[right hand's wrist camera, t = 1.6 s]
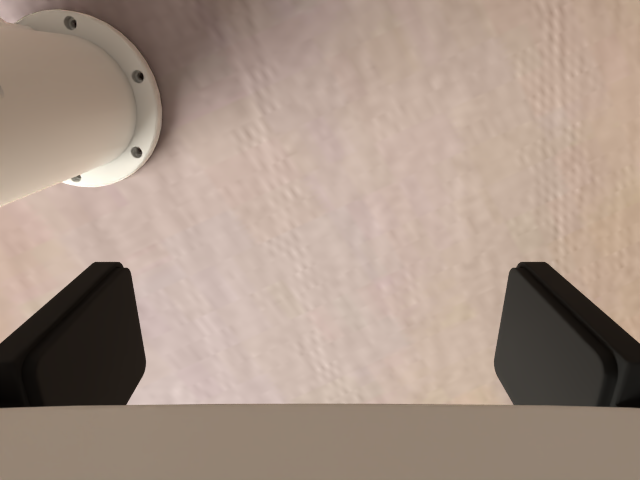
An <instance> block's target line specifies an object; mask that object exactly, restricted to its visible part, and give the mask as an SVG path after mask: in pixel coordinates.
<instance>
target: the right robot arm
mask: <svg viewBox="0 0 640 480" xmlns="http://www.w3.org/2000/svg"><path fill="white" fill-rule="evenodd" d="M75 21H76V24H77V25H76V27H75V25H74V23H75ZM141 73H143V76H144V79H143V80H142V79H141V78H140V74H141ZM161 126H162V105H161V98H160V93H159V89H158V86H157V83H156V80H155V77H154V75H153V73H152V71H151V69H150V67H149V66H148V64H147V62H146V60H145V59H144V57H143V56H142V55H141V53H140V52H139V51H138V49H137V48H136V47H135V45H134V44H132V43H131V42H130V41H129V40H128V39H127V38H126V37H125V36H124V35H123V34H122V33H121V32H119V31H118V30H116V29H115V28H113V27H112V26H111V25H109V24H108V23H106V22H104V21H102V20H99V19H97V18H95V17H93V16H90V15H87V14H83V13H79V12H75V11H68V10H60V9H54V10H43V11H39V12H36V13H33V14H30V15H27V16H25V17H23V18H22V19H20V20H18V21H17V22H15V23H14V24H12V23H7V22H6V21H4V20H3V19H2V18H0V207H2V206H4V205H7V204H9V203H12V202H14V201H16V200H19V199H21V198H24V197H26V196H29V195H31V194H34V193H36V192H39V191H41V190H44V189H46V188H48V187H51V186H53V185H56V184H58V183H61V182H63V183H66V184H71V185H75V186H80V187H99V186H105V185H110V184H113V183H115V182H118V181H120V180H123V179H125V178H127V177H128V176H130V175H132V174H134V173H135V172H136V171H137V170H138V169H139V168H141V167H142V166H143V165H144V164H145V162H146V161H147V160H148V159H149V157H150V156H151V155H152V153H153V151H154V149H155V146H156V144H157V142H158V139H159V135H160V131H161ZM139 148H140V149H141V150H142V153H140V152H139ZM80 175H81V176H80ZM145 367H146V358H145V352H144V346H143V340H142V335H141V329H140V323H139V317H138V311H137V306H136V300H135V294H134V288H133V282H132V276H131V272H130V270H129V269H128V268H124V267H123V265H122V264H121V263H120V262H94V263H93V264H91V265H90V266H89V267H88V268H87V269H86V270H85V271H83V272H82V273H81V274H80V275H79V276H78V277H76V278H75V279H74V280H73V281H72V282H71V283H70V284H68V285H67V286H66V287H65V288H64V289H63V290H61V291H60V292H59V293H58V294H57V295H56V296H55V297H53V298H52V299H51V300H50V301H49V302H48V303H47V304H45V305H44V306H43V307H42V308H41V309H40V310H38V311H37V312H36V313H35V314H34V315H33V316H32V317H30V318H29V319H28V320H27V321H26V322H25V323H23V324H22V325H21V326H20V327H19V328H18V329H17V330H15V331H14V332H13V333H12V334H11V335H10V336H8V337H7V338H6V339H5V340H4V341H3V342H2V343H0V480H640V343H638V342H637V341H636V340H635V339H634V338H633V337H631V336H630V335H629V334H628V333H627V332H626V331H625V330H623V329H622V328H621V327H620V326H619V325H618V324H617V323H615V322H614V321H613V320H612V319H611V318H610V317H608V316H607V315H606V314H605V313H604V312H603V311H602V310H600V309H599V308H598V307H597V306H596V305H595V304H593V303H592V302H591V301H590V300H589V299H588V298H587V297H585V296H584V295H583V294H582V293H581V292H580V291H579V290H577V289H576V288H575V287H574V286H573V285H572V284H570V283H569V282H568V281H567V280H566V279H565V278H564V277H562V276H561V275H560V274H559V273H558V272H557V271H555V270H554V269H553V268H552V267H551V266H550V265H549V264H547V263H546V262H520V263H519V264H518V265H517V267H516V268H512V269H511V270H510V272H509V276H508V282H507V288H506V294H505V300H504V306H503V311H502V317H501V323H500V329H499V335H498V340H497V346H496V352H495V358H494V367H495V372H496V374H497V376H498V378H499V380H500V382H501V383H502V385H503V387H504V389H505V390H506V392H507V394H508V396H509V397H510V399H511V401H512V402H513V404H514V405H442V404H188V405H126V404H127V402H128V401H129V399H130V397H131V395H132V394H133V392H134V390H135V389H136V387H137V385H138V383H139V382H140V380H141V378H142V376H143V374H144V372H145Z"/></svg>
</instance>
